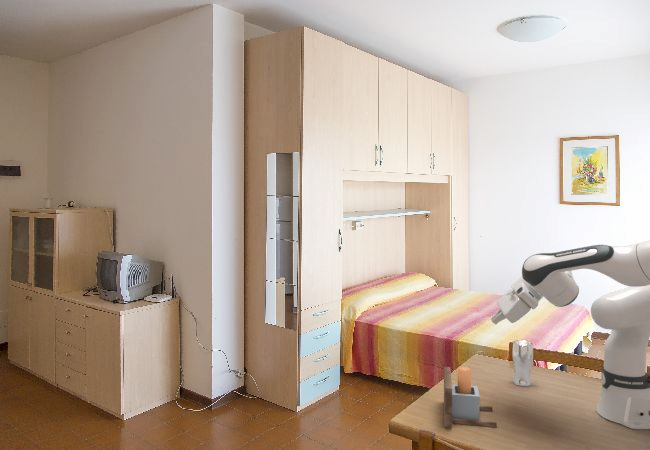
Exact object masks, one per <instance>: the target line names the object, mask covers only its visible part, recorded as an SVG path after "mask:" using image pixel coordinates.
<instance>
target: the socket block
mask: <svg viewBox="0 0 650 450" xmlns="http://www.w3.org/2000/svg"><path fill="white" fill-rule="evenodd" d="M480 398H481V397H480V392H479V388H478V385H471V394H458V384H453V383H452V418H455V419H466V420H478V421H480V410H479V407H480V406H481V405H480V401H481V400H480Z"/></svg>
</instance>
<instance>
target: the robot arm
mask: <svg viewBox="0 0 650 450" xmlns="http://www.w3.org/2000/svg"><path fill="white" fill-rule="evenodd" d="M521 267H522V268H521V277H519V279H518V280H516V281H515V282H514V283H513V284H512V285H511V289H510V290H508V291H507V292H505V293H504V294H503V295H502V296H501V297H499V298H498V299H497V301H496V304H497V306H498V310H496V312H495V313H494V315H493V316H492V317H491V322H492V323H493V325H498V323H500V322H502V321H503V320H505V319H507V320H508V322H510V323H511V324H514V323H516V322H518V321H519V320H521V318H523V317H525V316H526V315H527V314H528V313H529V312H530V311H531V310H535V309H536V308H538V306H539V302H540V300H541V299H543V298H545V299H546V300H547V301H548V303H550V304H551V305H553V306H555V307H557V308H562V307H567V306H569V305H571V304H572V303H573V302H575V301H576V299H578V295H579V294H580V287H579V285H578V284H577V282H576V281H575V279H574V276H573V272H572V271H577V270H586V269H587V270H592V271H595V272H598V273H600V274H603V275H604V276H607V277H608V278H610V279H612V280H613V281H616V282H617V283H618V284H621V285H624V286H626V287H624V288H622V289H621V288H620V289H618V290H614V291H613V292H609V293H606V294H604V295H602V296H600V297H597V298H596V299H595V300H594V301H593V302H592V303H591V306H590V315H591V317H592V320H593V321H594V323H595V324H596V325H597V326H598V327H600V328H602V329H604V330H610V331H611V332H610V334H609V335H608V337H607V339H606V340H605V342H604V348H603V366H602V368H601V376H600V377H601V378H600V382H601V392H600V398H599V400H598V405H597V407H596V413H597V414H598V415H599V416H601V417H602V418H604V419H606V420H609V421H612V422H614V423H618V424H620V425H623V426H625V427H627V428H630V429H632V430H650V374H649V373H648V372H647V371H646V368H647V367H646V366H647V365H646V362H647V351H648V346H649V341H650V239H649V240H646V241H642V242H639V243H635V244H630V245H629V244H628V245H615V246H614V245H607V244H593V245H588V246H587V245H586V246H582V247H578V248H572V249H566V250H562V251H557V252H543V253H541V252H540V253H536V254H532V255H530V256H529V257H528V258H526V259H525V260H524V262H523V264H522V266H521Z"/></svg>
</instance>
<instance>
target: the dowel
mask: <svg viewBox="0 0 650 450" xmlns="http://www.w3.org/2000/svg"><path fill="white" fill-rule="evenodd" d="M456 372H457V374H456V375H457V385H458V394H471V386H472V373H471V372H472V371H471V367H467V366H459V367H457V369H456Z"/></svg>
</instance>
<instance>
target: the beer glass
mask: <svg viewBox="0 0 650 450" xmlns="http://www.w3.org/2000/svg"><path fill="white" fill-rule="evenodd" d="M511 355H512V363H513V370H514V374H513V375H514V376H513V379H512V383H513V384H514V385H516V386H519V387H530V386H531V385H532V378H531V371H532V367H533V362H534V345H533V342H531V341H529V340H524V339H516V340H514V341H513V343H512V353H511Z"/></svg>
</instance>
